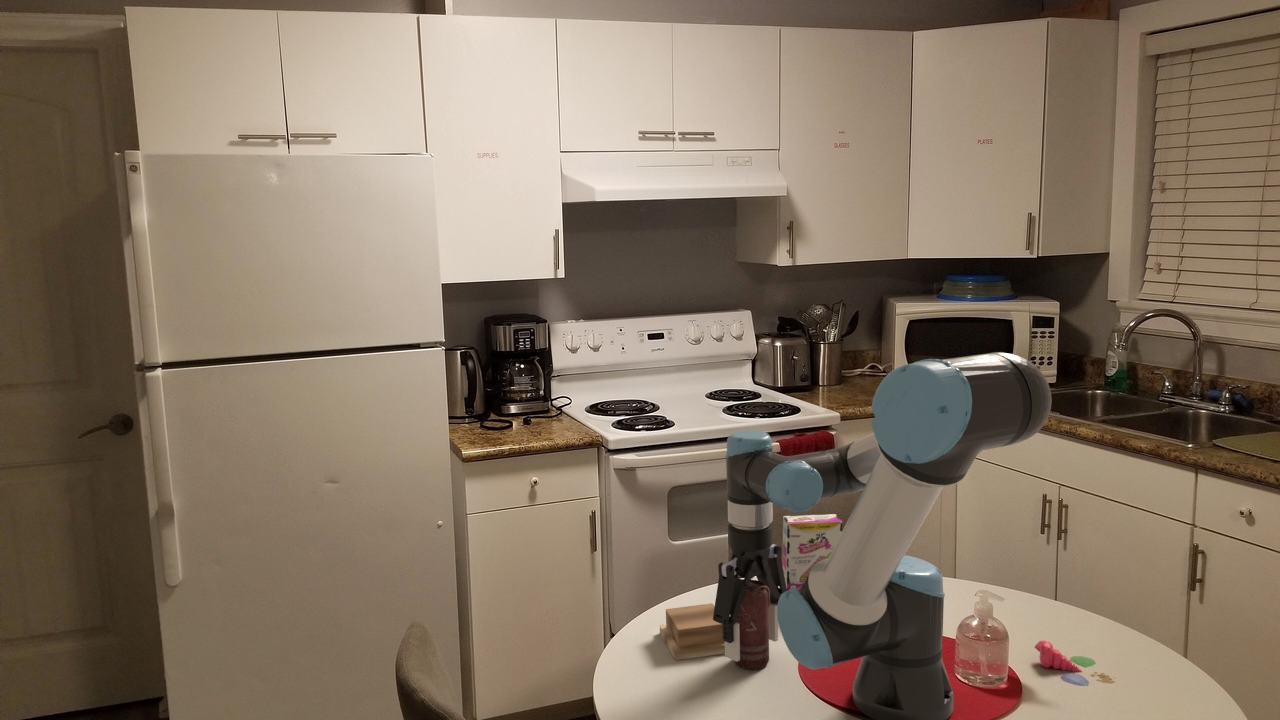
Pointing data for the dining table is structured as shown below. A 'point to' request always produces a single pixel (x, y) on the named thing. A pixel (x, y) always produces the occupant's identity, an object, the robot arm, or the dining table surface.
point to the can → (754, 626)
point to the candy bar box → (807, 544)
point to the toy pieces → (1067, 664)
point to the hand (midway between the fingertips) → (751, 648)
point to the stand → (692, 632)
